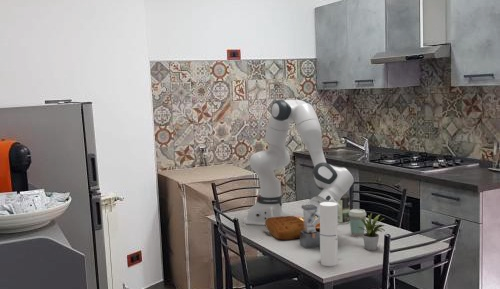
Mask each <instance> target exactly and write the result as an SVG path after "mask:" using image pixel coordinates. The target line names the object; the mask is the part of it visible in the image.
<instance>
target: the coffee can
mask: <svg viewBox="0 0 500 289" xmlns="http://www.w3.org/2000/svg"><path fill="white" fill-rule="evenodd" d="M350 197H351V195H349V194H347V193H345V194H344V195H343V196H342V197H341V199H340V201H339V202H338V203H339V205H340V206H341V208H340V209H339V210H337V216H338V225H345V224H346V225H347V224H350V218H349V211H350V210H351V203H350V202H351V198H350Z"/></svg>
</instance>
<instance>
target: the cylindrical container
mask: <svg viewBox="0 0 500 289" xmlns="http://www.w3.org/2000/svg"><path fill="white" fill-rule="evenodd" d="M338 225H339V224H338V216H337V203H334V202H322V203H320V223H319V237H320V247H319V248H320V249H319V254H320V255H319V257H320V258H319V259H320V260H319V262H320V265H321V266H324V267H335V266H338V264H339V253H338V252H339V247H338V246H339V243H338V242H339V240H338V232H339V231H338V230H339V229H338Z"/></svg>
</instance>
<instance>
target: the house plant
mask: <svg viewBox="0 0 500 289" xmlns="http://www.w3.org/2000/svg"><path fill="white" fill-rule="evenodd" d="M372 215H373V212H371V213H370V215H369V214H368V215H367V216H368V219H365V220H364V219H362V218H361V217H360V218H361V219H362V220H361V219H360V218H359V219H360V220H361V221H362V222H363V223H364V225H365V228H362V227H358V228H362V229H363V230H364V234H363V236H362V237H363V244H364V249H365V250H367V251H376V250H378V245H379V238H380V234H378V233H377V232H381V233H383V232H382V231H384V232H386V231H385V229H384V228H381V227H385V225H384V224H380V222H381V221H382V219H380V220H379V217H380V216H381V214H378V215H376V216H375V217H374V218H373V219H372ZM364 217H365V216H364ZM357 218H358V217H357ZM378 220H379V221H378ZM383 220H385V218H383ZM378 223H379V224H378Z"/></svg>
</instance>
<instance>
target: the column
mask: <svg viewBox="0 0 500 289" xmlns="http://www.w3.org/2000/svg"><path fill="white" fill-rule="evenodd" d="M301 209H303V210H302V211H303V212H302V214H303V216H302V218H303V219H304V220H303V219H302V220H303V222H304V233H305V234H311V233H316V231H317V230H316V226H315V227H314V226H313V225H312V224H311V223H312V221H315V220H316V216H315V210H317V207H316V206H314V205H312V204H310V205H306V204H304V205H301Z"/></svg>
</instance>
